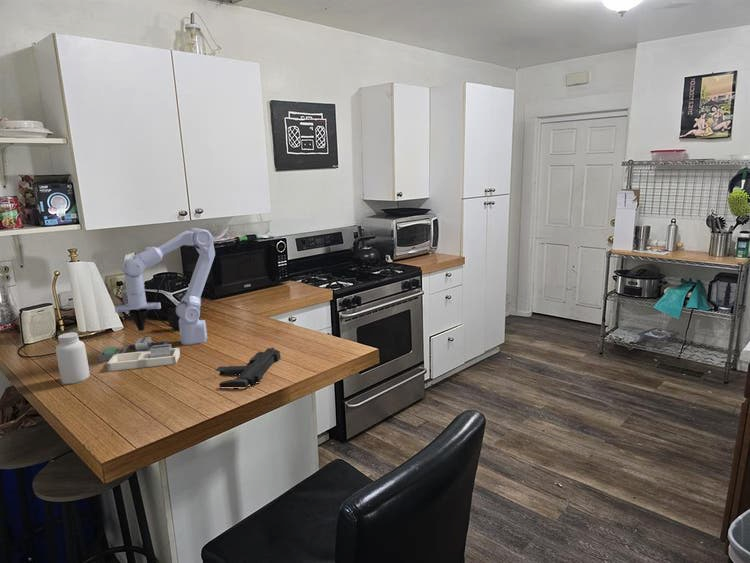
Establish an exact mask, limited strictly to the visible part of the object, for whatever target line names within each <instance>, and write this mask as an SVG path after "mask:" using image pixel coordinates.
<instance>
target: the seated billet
mask: <svg viewBox="0 0 750 563" xmlns="http://www.w3.org/2000/svg"><path fill="white" fill-rule="evenodd" d="M172 348H173V347H172V343H168V344H165V345H155V346H152V347H151V349H150V353H151V358H158V357H168V356H173V353H172Z"/></svg>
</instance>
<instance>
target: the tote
mask: <svg viewBox="0 0 750 563" xmlns="http://www.w3.org/2000/svg"><path fill="white" fill-rule="evenodd" d="M165 344H169V341H168V340H162V341H159V340H158V341H152V346H155V345H165ZM130 350H136V347H135V343H132V344H131V343H130V344H129V343H128V344H127V345H126V346H125V347H124V348H123V349H122V352H121V354H123V353H130Z"/></svg>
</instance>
